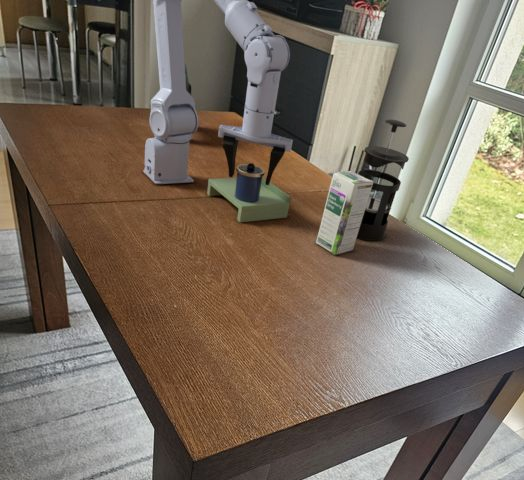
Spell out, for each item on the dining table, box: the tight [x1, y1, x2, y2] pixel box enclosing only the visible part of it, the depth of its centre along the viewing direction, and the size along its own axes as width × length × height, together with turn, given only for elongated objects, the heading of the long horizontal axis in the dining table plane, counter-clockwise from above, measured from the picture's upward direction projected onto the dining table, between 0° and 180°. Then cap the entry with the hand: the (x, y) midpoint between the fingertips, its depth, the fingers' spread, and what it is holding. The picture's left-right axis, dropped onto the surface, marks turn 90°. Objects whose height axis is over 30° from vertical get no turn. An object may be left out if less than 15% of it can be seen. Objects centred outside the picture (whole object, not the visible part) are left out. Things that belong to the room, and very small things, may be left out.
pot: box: [235, 162, 266, 202], centre depth 104 cm, size 6×6×7 cm
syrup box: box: [315, 170, 374, 256], centre depth 98 cm, size 6×6×14 cm
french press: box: [356, 119, 410, 242], centre depth 105 cm, size 12×9×23 cm
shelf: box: [206, 176, 292, 223], centre depth 111 cm, size 12×15×5 cm
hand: (249, 179), depth 104 cm, fingers open, 7 cm apart
